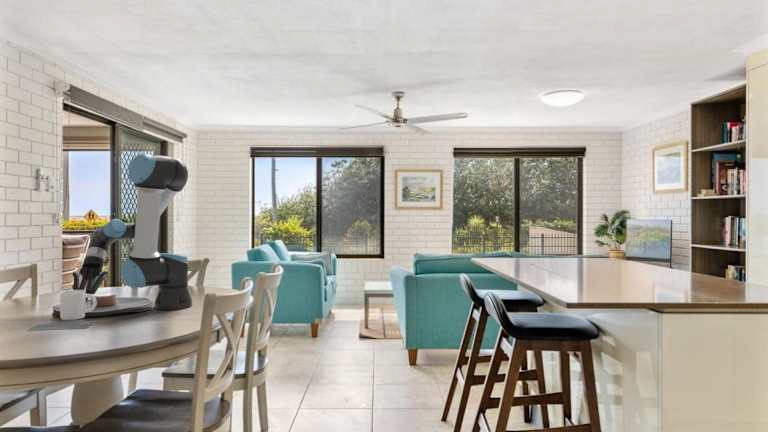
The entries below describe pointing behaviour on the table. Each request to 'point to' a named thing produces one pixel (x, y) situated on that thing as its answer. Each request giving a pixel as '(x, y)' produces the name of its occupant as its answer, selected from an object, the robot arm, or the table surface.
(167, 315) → the table surface
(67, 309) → the mug
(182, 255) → the robot arm
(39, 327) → the t mat
